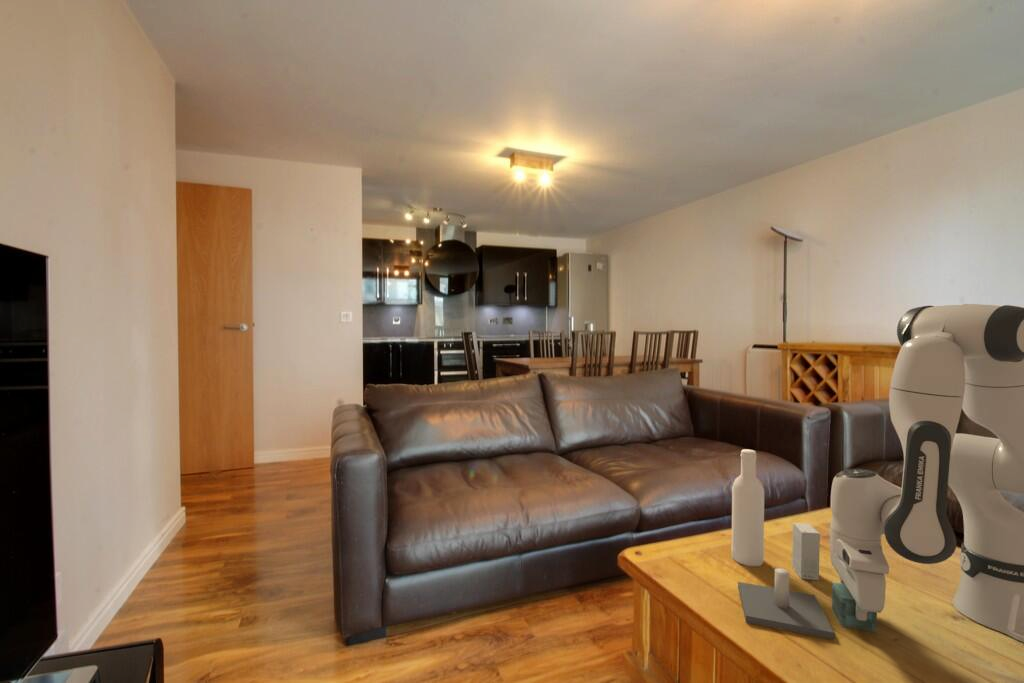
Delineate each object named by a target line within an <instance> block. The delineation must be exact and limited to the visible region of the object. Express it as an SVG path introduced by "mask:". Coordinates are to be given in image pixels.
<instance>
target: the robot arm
mask: <svg viewBox="0 0 1024 683" xmlns="http://www.w3.org/2000/svg"><path fill="white" fill-rule="evenodd" d="M896 335H897V340H898V342H899V344H900V346H901V348H900V349H899V352H898V354H897V357H896V360H895V362H894V366H893V370H892V374H891V380H890V385H889V386H890V387H889V393H888V394H889V395H888V403H889V415H890V421H891V423H892V425H893V427H894V430H895V432H896V434H897V436H898V439H899V441H900V444H901V448H902V452H903V468H902V469H903V470H902V479H901V480H902V481H901V487H900V486H898V485H896V484H894V483H892V482H890V481H888V480H886V479H884V478H883V477H881V476H880V475H879V474H878V473H877V472H875V471H873V470H869V469H865V468H850V469H845V470H840V471H839V472H837V473H836V474H835V476H834V477H833V479H832V482H831V483H832V484H831V490H830V510H831V514H832V518H831V521H830V525H829V548H830V563H831V566H832V567H833V568H834V570H835V572H836V573H837V574H838V576H839V581H840V582H839V583H840V584H845V586H846V587H847V589H848V590H849V592H850V593H851V595H852V596H853V598H854V599H855V602H856V608H855V607H854V615H855V616H856V618H857V619H858V620H862V621H866V620H867V612H868V611H869V612H876V613H877V614H880V613H882V612H883V611H884V608H885V602H886V588H887V587H886V586H887V582H886V580H887V579H886V577H885V575H888V574H889V573H890V566H889V563H888V560H887V559H886V556H885V554H884V551H883V546H882V535H884V538H885V539H886V542H887V543H888V544H887V545H888V546H889V547H890V548H891V549H892V550H893V551H894V552H895V553H896V554H897V555H899V556H901V557H902V558H904V559H906V560H908V561H909V562H912V563H913V562H914V563H918V564H921V565H922V564H923V565H933V564H939V563H942V562H945V561H946V560H948V559H949V558H950V557H952V556H953V555H954V553H955V551H956V549H957V537H956V535H955V531H954V529H953V527H952V525H951V522H950V520H949V518H948V513H947V499H948V490H949V488H950V489H951V490H952V492H953V493H954V495H955V497H956V498H957V501H958V502H959V505H960V508H961V511H962V516H963V518H962V519H963V535H964V536H963V542H962V543H961V546H960V548H961V549H960V559H959V560H960V569H961V574H960V579H959V582H958V587H957V590H956V593H955V594H954V597H953V599H952V601H951V602H952V605H953V607H954V608H955V610H957V611H958V612H959V613H961V614H962V615H964V616H965V617H967V618H968V619H970V620H972V621H974V622H976V623H977V624H981V625H983V626H985V627H987V628H989V629H993V630H995V631H998V632H1000V633H1004V635H1005V634H1006V635H1007V636H1009V637H1011V638H1013V639H1015V640H1017V641H1019V642H1021V643H1024V511H1021V510H1020V509H1018V508H1017V507H1015V506H1013V505H1012V504H1010V502H1008V501H1007V500H1006V499H1005V498H1004V496H1003V495H1002V493H1001V492H1002V491H1003V492H1007V493H1012V494H1016V495H1020V496H1021V495H1022V496H1024V307H1021V306H1018V305H1017V306H1016V305H1009V304H1007V305H1006V304H1005V305H1002V306H1001V305H992V304H991V305H990V304H978V303H977V304H976V303H963V304H953V305H952V304H951V305H950V304H949V305H939V306H938V305H937V306H936V305H935V306H933V305H923V306H917V307H914V308H911V309H909V310H908V311H906V312H905V313H904V314H903V315H902V317H901V318H900V319H899V321H898V323H897V327H896ZM962 411H963V413H964V414H965V416H966V417H967V418H968V419H969V420H971V422H973V423H975V424H977V425H979V426H980V427H983V428H985V429H986V430H988V431H990V433H991V432H992V434H993V435H994V436H996V437H997V438H996V437H988V436H982V435H975V434H969V433H957V430H958V425H959V422H960V419H961V418H960V417H961V414H962ZM948 486H949V488H948Z"/></svg>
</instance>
